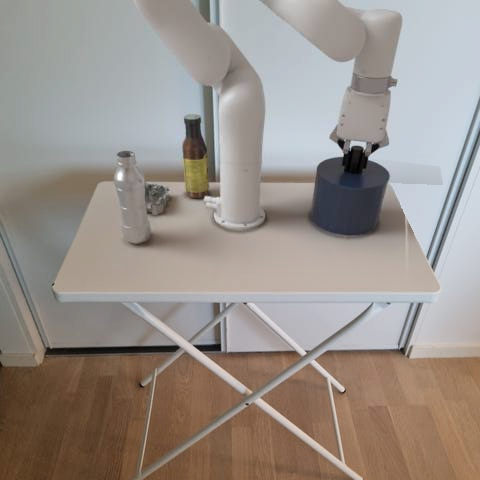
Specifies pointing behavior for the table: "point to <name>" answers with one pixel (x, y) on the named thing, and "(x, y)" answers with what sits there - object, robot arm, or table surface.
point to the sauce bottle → (195, 158)
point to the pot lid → (353, 172)
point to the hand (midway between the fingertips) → (353, 169)
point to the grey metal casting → (155, 198)
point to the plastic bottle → (132, 198)
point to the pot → (346, 208)
